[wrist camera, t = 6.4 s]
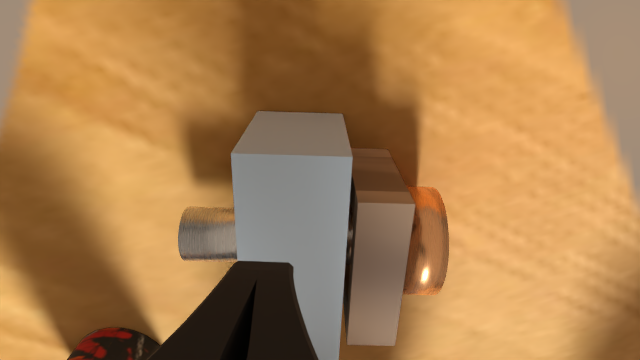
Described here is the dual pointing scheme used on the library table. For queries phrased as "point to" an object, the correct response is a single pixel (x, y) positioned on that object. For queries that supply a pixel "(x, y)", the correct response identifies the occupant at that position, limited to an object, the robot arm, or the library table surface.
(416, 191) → the shaft
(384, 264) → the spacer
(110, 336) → the deodorant
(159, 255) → the library table surface
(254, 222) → the bearing block
